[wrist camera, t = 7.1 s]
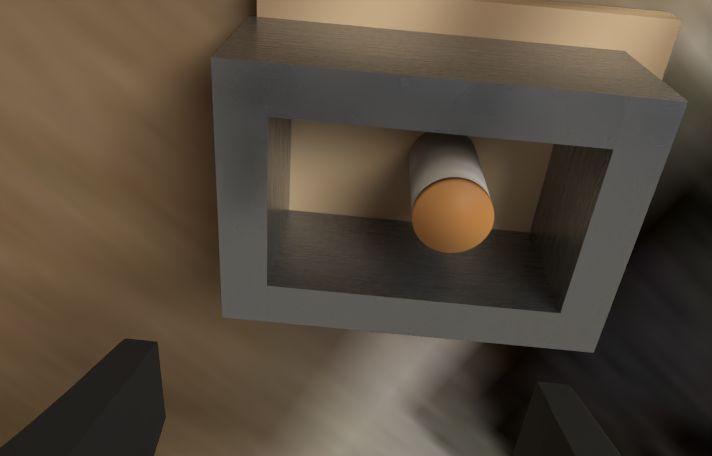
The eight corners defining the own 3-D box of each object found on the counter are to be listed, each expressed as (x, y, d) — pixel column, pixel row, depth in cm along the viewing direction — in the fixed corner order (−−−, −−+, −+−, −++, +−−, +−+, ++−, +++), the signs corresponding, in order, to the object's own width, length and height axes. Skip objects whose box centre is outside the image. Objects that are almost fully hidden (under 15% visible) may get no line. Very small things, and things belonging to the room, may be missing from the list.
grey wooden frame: (624, 50, 16) (688, 101, 13) (558, 267, 20) (593, 352, 16) (248, 15, 16) (210, 56, 13) (251, 238, 20) (222, 317, 16)
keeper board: (667, 12, 16) (751, 57, 13) (578, 280, 21) (620, 373, 17) (263, -26, 16) (225, 7, 13) (263, 250, 21) (234, 336, 17)
